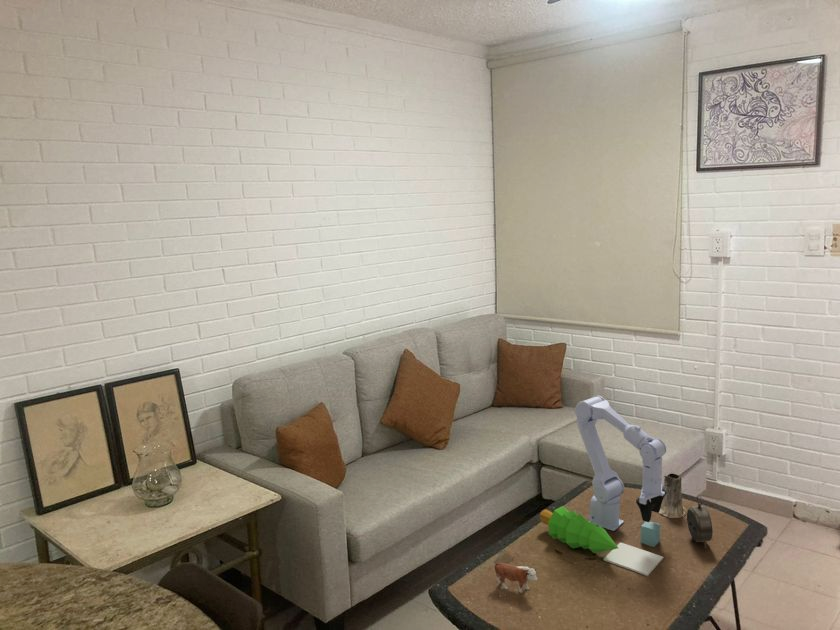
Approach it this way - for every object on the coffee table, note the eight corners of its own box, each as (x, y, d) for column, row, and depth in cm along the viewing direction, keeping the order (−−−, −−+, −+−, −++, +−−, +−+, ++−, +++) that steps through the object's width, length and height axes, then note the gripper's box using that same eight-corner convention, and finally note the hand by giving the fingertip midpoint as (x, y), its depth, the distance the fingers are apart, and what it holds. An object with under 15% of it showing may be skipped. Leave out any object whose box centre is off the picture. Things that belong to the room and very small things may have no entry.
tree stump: (658, 517, 232) (659, 481, 230) (655, 504, 242) (657, 469, 239) (688, 519, 230) (690, 483, 227) (685, 506, 239) (686, 471, 237)
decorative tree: (549, 493, 227) (624, 522, 203) (558, 517, 231) (633, 549, 208) (528, 515, 221) (602, 548, 198) (538, 540, 226) (612, 575, 202)
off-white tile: (603, 560, 207) (603, 558, 207) (620, 544, 216) (620, 542, 216) (647, 576, 198) (647, 574, 198) (663, 558, 207) (663, 556, 207)
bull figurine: (535, 600, 189) (535, 574, 188) (492, 586, 196) (492, 561, 195) (541, 591, 193) (541, 566, 191) (499, 579, 200) (498, 554, 198)
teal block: (640, 542, 217) (641, 525, 216) (646, 537, 220) (646, 520, 219) (654, 547, 214) (654, 530, 213) (659, 541, 217) (660, 524, 216)
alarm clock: (712, 551, 210) (715, 503, 207) (695, 551, 210) (697, 503, 207) (699, 533, 221) (701, 487, 218) (683, 533, 221) (684, 487, 218)
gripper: (655, 488, 205) (654, 529, 207) (673, 472, 215) (671, 511, 218) (633, 482, 209) (632, 522, 212) (651, 466, 220) (650, 505, 222)
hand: (651, 516), depth 215 cm, fingers open, 7 cm apart
